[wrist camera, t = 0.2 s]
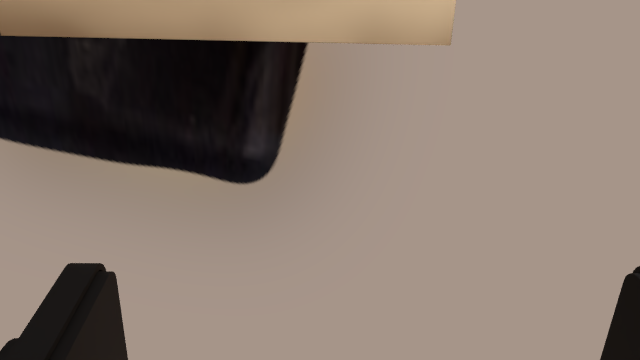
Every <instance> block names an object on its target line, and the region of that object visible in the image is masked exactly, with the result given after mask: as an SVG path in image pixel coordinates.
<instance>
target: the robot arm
mask: <svg viewBox="0 0 640 360" xmlns="http://www.w3.org/2000/svg"><path fill="white" fill-rule="evenodd" d="M0 360H128V358H127V350H126V343H125V336H124V329H123V322H122V315H121V307H120V300H119V293H118V286H117V279H116V275H115V273H114V272H106V269H105V267H104V265H103V264H100V263H70V264H68V265H67V266H66V267H65V268H64V270H63V271H62V273H61V274H60V276H59V277H58V279H57V281H56V282H55V284H54V285H53V287H52V288H51V290H50V291H49V293H48V294H47V296H46V297H45V299H44V300H43V302H42V303H41V305H40V306H39V308H38V309H37V311H36V313H35V314H34V316H33V317H32V319H31V320H30V322H29V323H28V325H27V326H26V328H25V329H24V331H23V333H22V334H21V336H20V337H19V338H16V339H15V338H14V339H12V340H10V341H8V342H7V343H6V345H5V346H4V347H3V348H2V350H1V351H0ZM600 360H640V266H639V267H637V268H636V269H635V270H634V271H633V273H631V274H628V275H627V276H626V277H625V279H624V282H623V285H622V288H621V292H620V295H619V298H618V302H617V305H616V309H615V312H614V315H613V319H612V322H611V325H610V329H609V332H608V335H607V339H606V342H605V345H604V349H603V352H602V356H601V359H600Z"/></svg>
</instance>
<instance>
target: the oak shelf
mask: <svg viewBox="0 0 640 360" xmlns="http://www.w3.org/2000/svg"><path fill="white" fill-rule="evenodd" d="M455 5H456V0H0V32H1V36H45V37H90V38H136V39H181V40H227V41H272V42H318V43H365V44H409V45H410V44H411V45H451V37H452V29H453V21H454V12H455Z"/></svg>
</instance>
